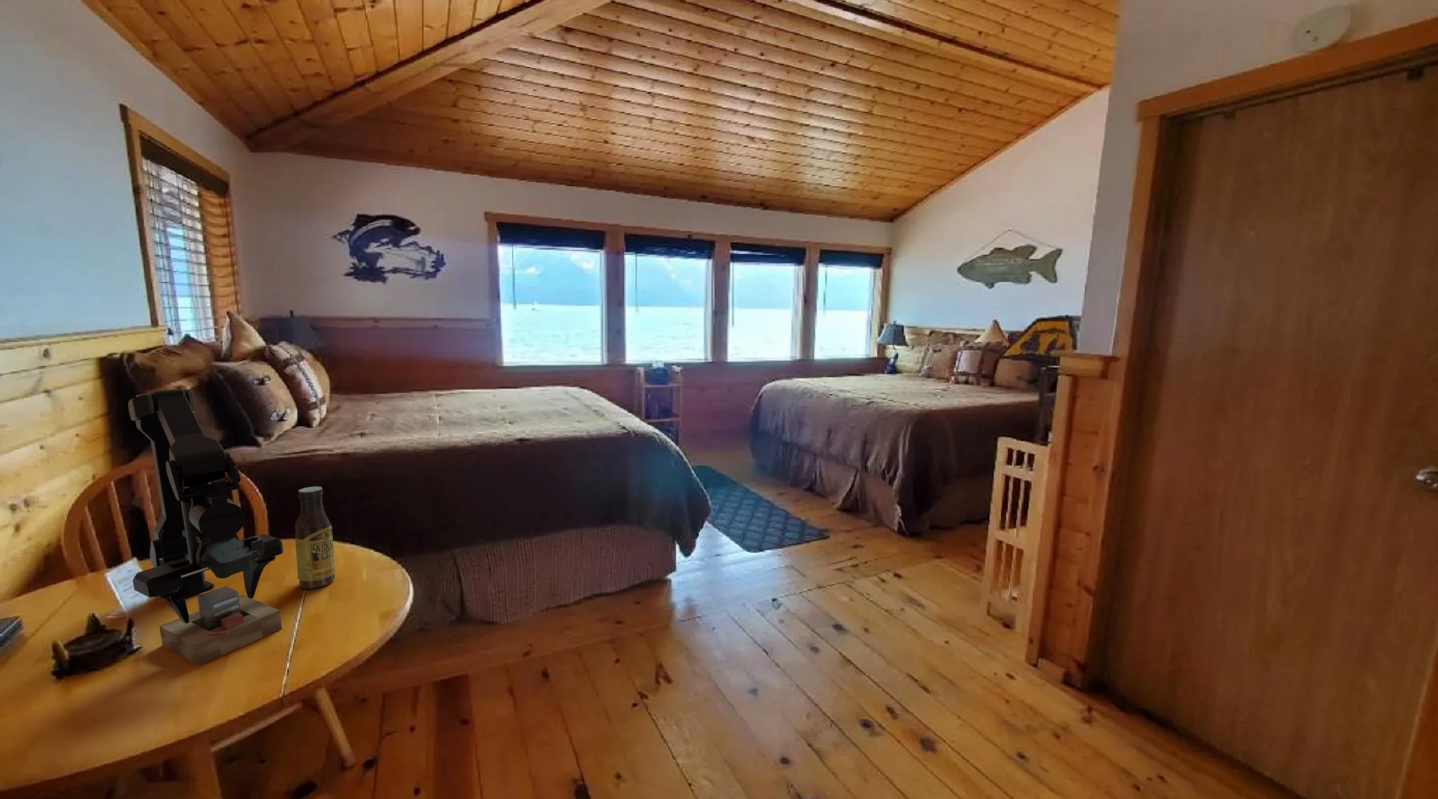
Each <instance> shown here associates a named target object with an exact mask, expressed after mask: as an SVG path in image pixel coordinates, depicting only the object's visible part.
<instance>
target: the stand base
mask: <svg viewBox="0 0 1438 799" xmlns="http://www.w3.org/2000/svg"><path fill="white" fill-rule="evenodd" d="M238 597H239V604H240V612H241V614H240V613H236V614H233V615H231V616H228V617H226V618H223V619H221V623H222V626H221V627H218V628H216V629H213V630H211V631H207V630H205V629H204V628H202V625H201V618H200V611H199V610H198V611H195V612H193V613H189V623H187V624H185V623H184V622H183V621H182V620H181V619H180V617H178V618H177V619H175V620H172V621H169V622H166V623H164V624H162V625H161V624H160V625H159V632H160V637H161V644H162V647H165V648H167V649H168V650H171V651H172V652H173V653H175V654H177V655H179V656H181V657H182V658H185V659H186V660H187V661H190V662H191V663H193V664H195V665H196V666H202V665H204V664H206V663H208V662H210V661H213V660H215V659H217V658H219V657H222V656H224V655H227V654H228V653H230V652H233V651H235V650H238V649H240V648H242V647H244V646H246V645H249V644H251V643H253V642H256V641H258V640H260V639H263V638H265V637H267V636H269V635H272V634H275V633H276V632H278V631H280V630H282V629H283V627H282V619H281V617H282V616H281V611H280V610H279V609H277V608H275V607H273V606H270V605H268V604H266V603H263V602H261V601H258V600H257V599H254V598H252V599H250V598H248V596H247V595H245V594H240V595H238Z"/></svg>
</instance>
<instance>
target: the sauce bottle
mask: <svg viewBox="0 0 1438 799" xmlns="http://www.w3.org/2000/svg"><path fill="white" fill-rule="evenodd" d="M323 490H324V489H323V487H322V486H309V487H304V488H301V489H298V492H297V496H298V498H299V503H300V508H299V509H300V514H299V516H298V517H297V518H296V521H295V524H294V530H295V531H294V532H295V536H294V540H295V553H296V554H295V555H296V567H297V569H296V570H297V578H298V580H299V587H300V588H302V589H307V590H308V589H309V590H312V589H318V588H321V587H325V586H327V585H330V583H332V582H333V581H334V580H335V578H336V576H335V573H336V565H335V551H334V538H333V526H332V523H331V522H330V519H329V518H328V516H327V513H326V512H325V509H324V505H323V495H324V492H323Z"/></svg>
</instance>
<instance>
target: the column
mask: <svg viewBox="0 0 1438 799" xmlns="http://www.w3.org/2000/svg"><path fill="white" fill-rule="evenodd" d="M196 596H197V597H196V598H197V603H198V611H200V618H201V625H202V628H204V629H205V630H207V631H211V630H213V629H216V628H218V627H221V626H222V623H221V619H223V618H226V617H228V616H231V615H233V614H236V613H240V614H241V612H240V604H239V597H238V596H239V591H238V590H236V589H233V588H231V587H229V586H227V585H224V586H222V587H218V588H217V589H213V590H210V591H208V592H205V593H202V594H200V595H196Z"/></svg>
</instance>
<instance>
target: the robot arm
mask: <svg viewBox="0 0 1438 799" xmlns="http://www.w3.org/2000/svg"><path fill="white" fill-rule="evenodd" d="M127 405H128V411H129V418H130V419H131V421H132V422H133V421H135V424H136V425H135V426H136V428H137V430H139V431H140V432H141V433H142V434H144V435H145V437H147V438H148V439H149V440H150V444H151V451H152V457H153V458H152V459H153V464H154V469H155V471H154V472H155V475H156V476H155V477H156V483H157V488H158V494H159V495H158V496H159V501H160V507H161V513H162V514H161V516H160V518H159V519H158V521H157V523H156V524H155V526H154V527H153V530H152V531H153V538H154V539H153V540H151V541H150V547H149V548H150V549H149V558H150V562H151V567H152V568H148V569H143V570H142V571H138V572H136V574H135V575H134V576H133V579H132V585H133V590H134V591H136V592H137V593H140V594H142V595H144V596H146V597H147V598H158V599H161V600H162V599H164V600H165V602H167V604H168V605H169V606H170V608H171V609H172V610H173V611H174V612H175V614H176V615H177V616H178V618H180V619H181V620H182V621H183V622H184V623H185V624H187V623H189V615H190V613H189V611H188V607H187V602H186V599H185V598H188V597H190V596H193V595H197V594H198V593H200V592H201V593H202V592H204V591H208V590H210V589H212V588H215V583H212V582H210V581H208V580H206V575H205V572H206V571H211V572H212V573H213V574H214V576H215V577H216V578H218V579H226V578H230V577H231V576H233V575H235V574H239V573H242V576H243V582H244V588H245V589H244V590H245V592H246V596H247V597H248V598H250V599H254V597H255V595H256V590H257V588H258V584H259V581H260V579H261V576H262V574H263V572H264V569H265V567H267V565H268V564H269V563H271V562H272V561H273V562H274V561H275V560H276V559H277V558H276V557H277V556H279V555H282V554H283V553H284V546H283V545H284V544H283V542H282V540H281V539H280V538H278V537H274V536H271V535H268V534H266V533H262V534H258V535H253V536H250V537H248V538H241V539H240V538H239V536H238V535H237V534H238V532H239V531H241V530H242V528H243V527H244V525H245V523H246V513H245V511H244V510H243V509H242V508H241V506H239V505H238V504H236V503H235V502H234V500H233V501H232V499H231V498H230V494H229V492H230V491H236V490H241V489H240V488H241V487H240V484H239V483H241V480H242V477H241V474H240V472H239V469H238V467H237V464H236V462H235V459H234V457H232V456H231V453H230V452H228V451H225V449H224V448H223V447H222V445H221V443H220V442H219V441H218V440H217V439H214V438H210V437H208V436H206V434H205V433H204V431H203V429H202V426H201V425H200V423H199V420H198V419H197V417H196V415H195V413H196V412H197V409H196V404H195V398H194V395H193V392H190V391H188V390H187V389H182V388H175V389H173V388H172V389H161V390H154V391H152V392H148V393H143V394H137V395H135V397H132V398H131V399H130V400H129V401H128V404H127ZM226 476H227V477H226ZM226 478H227V480H226ZM239 533H240V532H239Z"/></svg>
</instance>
